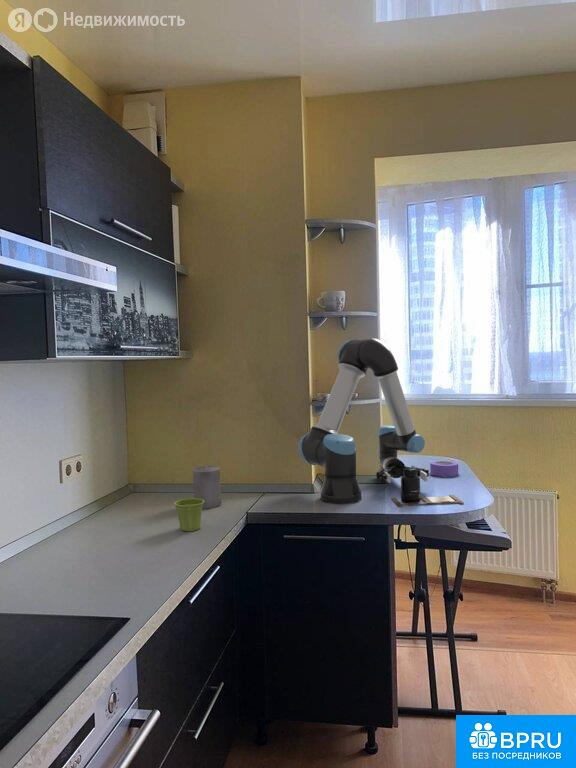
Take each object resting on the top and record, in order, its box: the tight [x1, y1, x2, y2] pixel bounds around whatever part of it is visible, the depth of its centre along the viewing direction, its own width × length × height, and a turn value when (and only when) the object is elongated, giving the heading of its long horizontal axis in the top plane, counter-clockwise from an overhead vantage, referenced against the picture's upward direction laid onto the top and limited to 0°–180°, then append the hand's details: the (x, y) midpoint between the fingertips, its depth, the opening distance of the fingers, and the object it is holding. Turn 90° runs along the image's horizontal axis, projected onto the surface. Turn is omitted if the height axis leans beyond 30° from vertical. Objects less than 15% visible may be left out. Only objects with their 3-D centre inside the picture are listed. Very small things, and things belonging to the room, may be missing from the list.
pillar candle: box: [192, 464, 222, 510], centre depth 211 cm, size 10×10×15 cm
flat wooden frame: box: [391, 494, 465, 508], centre depth 207 cm, size 23×11×1 cm, turn 93°
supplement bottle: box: [400, 466, 421, 504], centre depth 208 cm, size 7×7×12 cm
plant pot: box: [173, 498, 204, 532], centre depth 183 cm, size 9×9×9 cm
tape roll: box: [429, 460, 459, 477], centre depth 252 cm, size 12×12×5 cm
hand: (408, 478), depth 214 cm, fingers open, 13 cm apart
